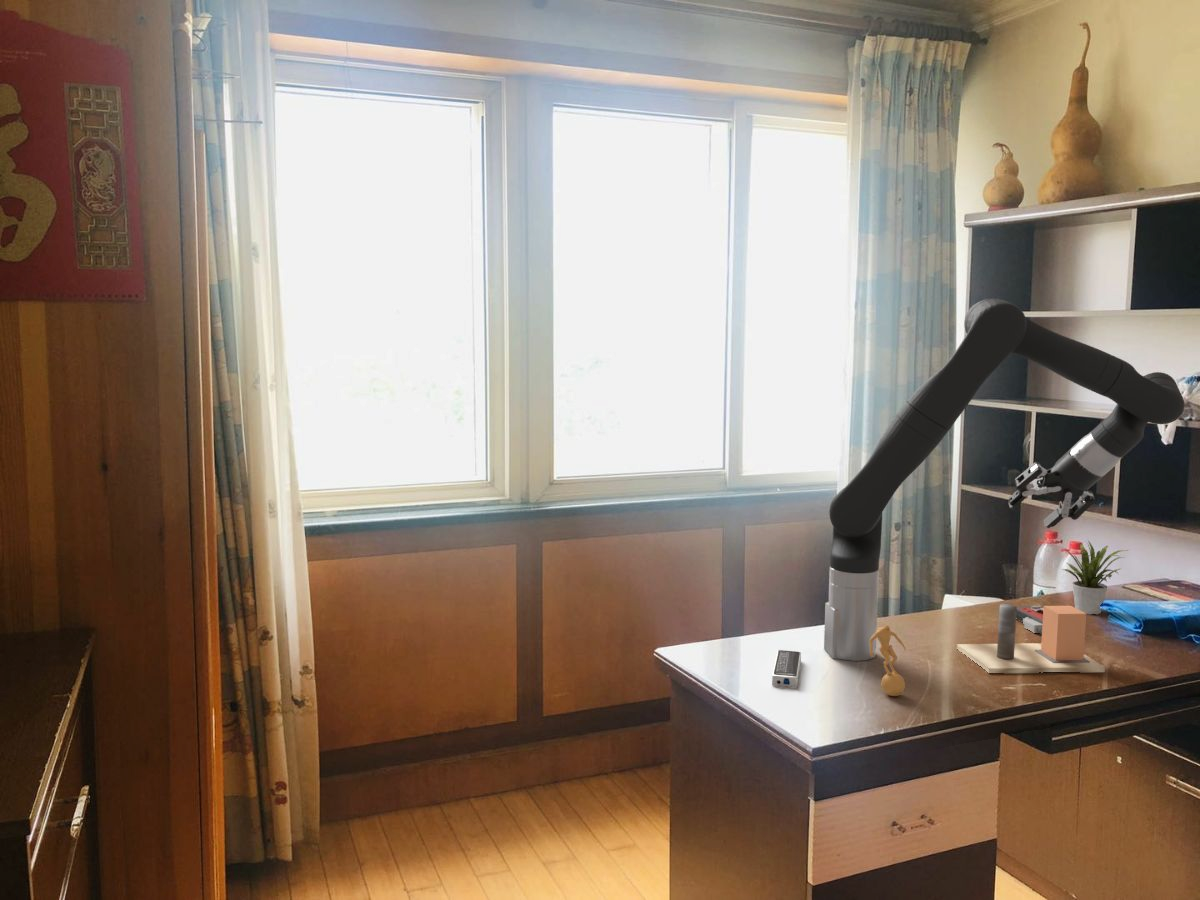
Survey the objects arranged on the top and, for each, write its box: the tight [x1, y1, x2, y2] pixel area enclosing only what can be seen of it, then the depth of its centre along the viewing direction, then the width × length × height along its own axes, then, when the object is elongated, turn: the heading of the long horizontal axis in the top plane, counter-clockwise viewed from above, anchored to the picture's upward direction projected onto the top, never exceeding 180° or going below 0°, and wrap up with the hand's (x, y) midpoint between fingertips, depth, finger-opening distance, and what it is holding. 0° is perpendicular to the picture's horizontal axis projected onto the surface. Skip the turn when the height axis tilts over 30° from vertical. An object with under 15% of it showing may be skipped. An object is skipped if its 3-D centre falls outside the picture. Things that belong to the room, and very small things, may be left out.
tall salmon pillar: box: [1040, 605, 1087, 660], centre depth 181 cm, size 5×5×9 cm
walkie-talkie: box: [1016, 605, 1044, 635], centre depth 201 cm, size 9×4×20 cm
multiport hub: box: [771, 649, 802, 688], centre depth 175 cm, size 4×14×2 cm, turn 166°
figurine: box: [869, 625, 906, 697], centre depth 164 cm, size 8×6×12 cm
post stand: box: [956, 603, 1106, 674], centre depth 181 cm, size 22×14×11 cm, turn 93°
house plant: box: [1058, 540, 1129, 615], centre depth 213 cm, size 14×14×16 cm
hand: (1027, 515), depth 187 cm, fingers open, 8 cm apart
